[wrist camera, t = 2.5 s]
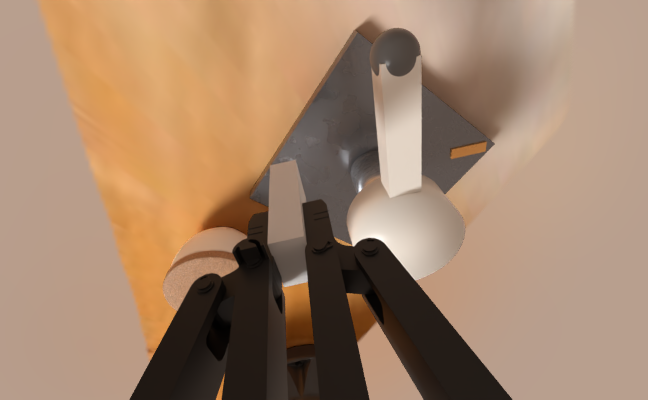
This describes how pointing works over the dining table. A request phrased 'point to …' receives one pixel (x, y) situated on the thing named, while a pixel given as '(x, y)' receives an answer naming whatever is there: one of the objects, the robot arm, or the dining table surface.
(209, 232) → the lidded jar
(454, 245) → the coupling lever handle
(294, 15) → the dining table surface
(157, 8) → the dining table surface
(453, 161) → the base
